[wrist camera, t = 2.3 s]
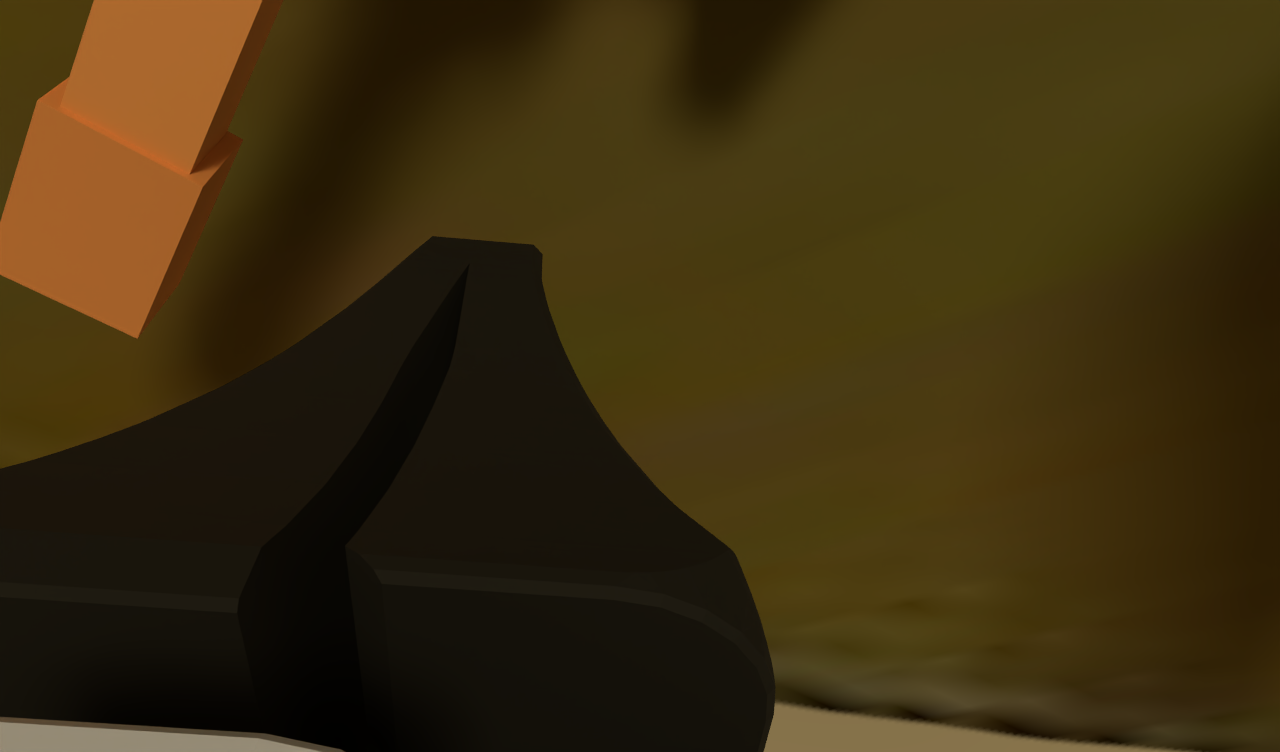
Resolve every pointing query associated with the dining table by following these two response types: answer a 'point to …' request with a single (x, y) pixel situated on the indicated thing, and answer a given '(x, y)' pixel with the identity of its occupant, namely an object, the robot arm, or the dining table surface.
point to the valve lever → (131, 154)
